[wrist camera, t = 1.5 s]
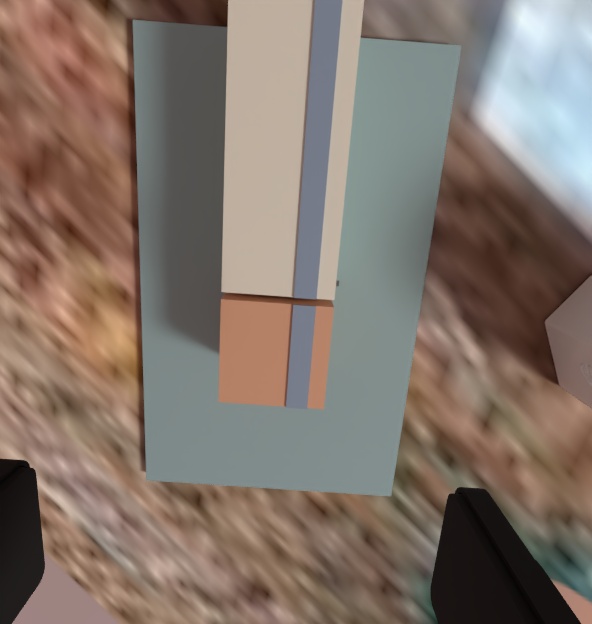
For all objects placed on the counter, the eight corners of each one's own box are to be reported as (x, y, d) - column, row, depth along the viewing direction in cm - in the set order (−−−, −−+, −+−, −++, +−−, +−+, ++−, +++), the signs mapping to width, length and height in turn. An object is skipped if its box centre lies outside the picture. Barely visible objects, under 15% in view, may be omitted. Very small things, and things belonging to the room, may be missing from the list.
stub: (237, 279, 22) (220, 299, 17) (326, 285, 22) (334, 307, 17) (234, 362, 24) (217, 403, 19) (318, 367, 24) (324, 410, 19)
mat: (137, 25, 20) (132, 19, 19) (456, 50, 20) (462, 45, 19) (149, 474, 26) (145, 480, 26) (389, 489, 27) (391, 496, 26)
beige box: (246, 28, 19) (228, -33, 14) (349, 36, 19) (366, -22, 14) (237, 273, 22) (221, 292, 17) (326, 279, 22) (334, 300, 17)
